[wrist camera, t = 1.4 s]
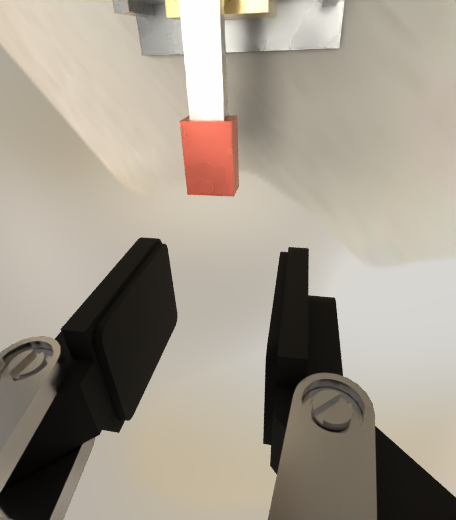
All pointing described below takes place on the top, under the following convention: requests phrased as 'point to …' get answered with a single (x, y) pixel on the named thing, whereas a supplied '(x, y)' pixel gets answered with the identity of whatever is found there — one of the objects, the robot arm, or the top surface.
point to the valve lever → (207, 102)
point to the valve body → (242, 24)
